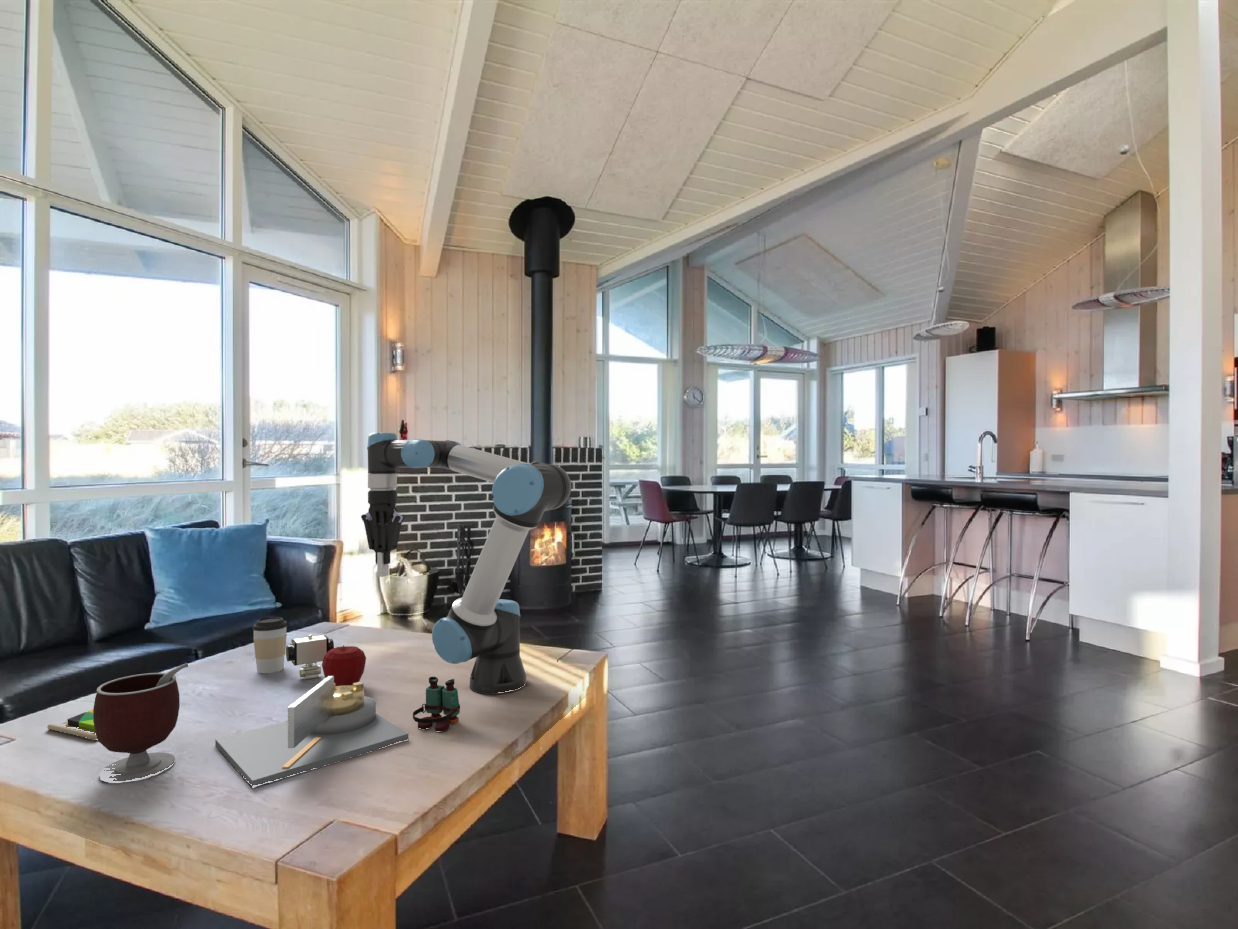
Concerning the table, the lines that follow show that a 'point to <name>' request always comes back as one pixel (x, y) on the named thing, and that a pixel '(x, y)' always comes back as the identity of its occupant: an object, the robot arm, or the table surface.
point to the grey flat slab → (308, 744)
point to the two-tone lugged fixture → (321, 707)
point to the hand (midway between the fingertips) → (383, 575)
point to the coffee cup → (270, 644)
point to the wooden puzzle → (78, 725)
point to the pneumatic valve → (309, 654)
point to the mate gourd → (137, 720)
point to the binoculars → (439, 706)
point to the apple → (344, 665)
